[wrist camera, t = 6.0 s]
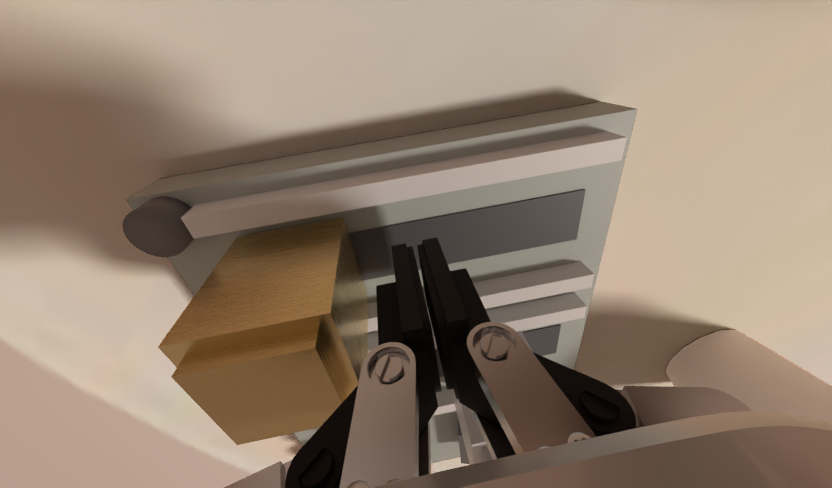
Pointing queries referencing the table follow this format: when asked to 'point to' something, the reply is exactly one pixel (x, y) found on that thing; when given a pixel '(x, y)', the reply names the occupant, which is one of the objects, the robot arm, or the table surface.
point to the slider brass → (275, 332)
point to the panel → (428, 218)
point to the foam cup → (751, 375)
